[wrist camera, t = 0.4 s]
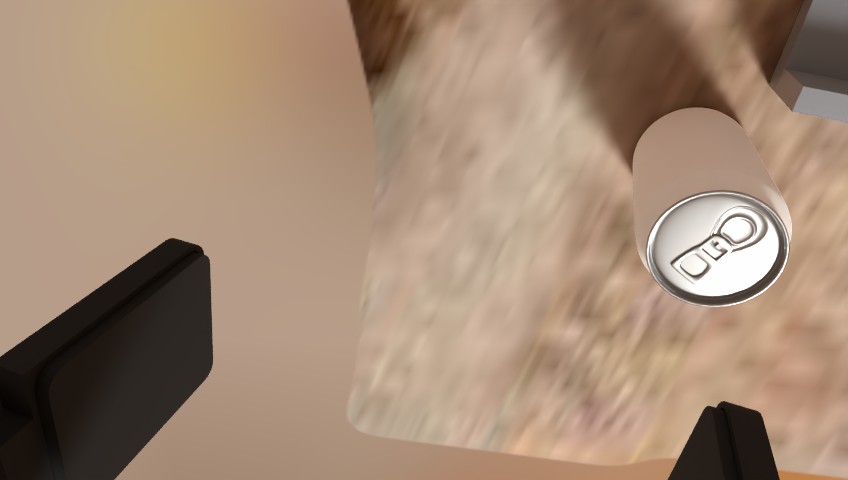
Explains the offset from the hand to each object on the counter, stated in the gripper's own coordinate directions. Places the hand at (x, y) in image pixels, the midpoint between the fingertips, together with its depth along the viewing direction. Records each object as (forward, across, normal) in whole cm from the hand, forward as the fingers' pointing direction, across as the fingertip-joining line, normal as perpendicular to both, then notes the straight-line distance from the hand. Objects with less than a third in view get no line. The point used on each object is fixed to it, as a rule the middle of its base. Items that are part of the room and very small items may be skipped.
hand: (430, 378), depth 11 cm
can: (+29, -9, +4) cm, 31 cm away
